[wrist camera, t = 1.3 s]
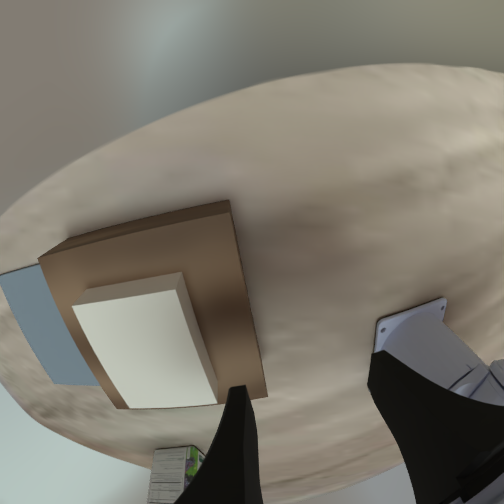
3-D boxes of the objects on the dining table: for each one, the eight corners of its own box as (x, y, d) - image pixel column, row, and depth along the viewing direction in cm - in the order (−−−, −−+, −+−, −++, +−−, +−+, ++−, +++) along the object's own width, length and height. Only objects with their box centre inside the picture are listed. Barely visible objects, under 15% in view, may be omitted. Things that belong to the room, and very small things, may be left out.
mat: (126, 382, 21) (125, 385, 21) (55, 381, 21) (54, 383, 21) (67, 255, 17) (65, 257, 17) (-1, 275, 17) (-3, 276, 16)
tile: (217, 381, 17) (217, 403, 15) (135, 387, 16) (129, 408, 15) (181, 271, 14) (175, 289, 12) (86, 289, 14) (71, 306, 12)
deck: (261, 361, 21) (268, 396, 18) (128, 376, 21) (116, 409, 17) (229, 199, 17) (229, 212, 13) (67, 238, 17) (37, 258, 13)
